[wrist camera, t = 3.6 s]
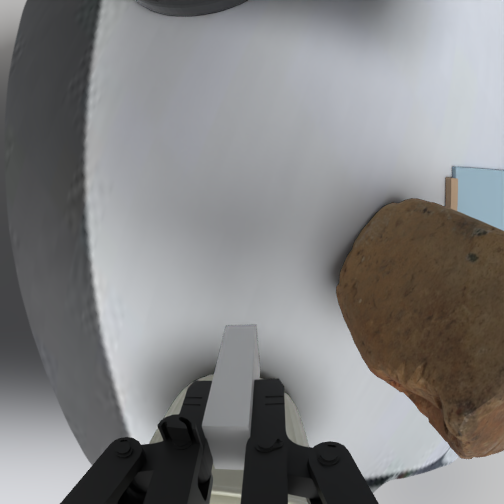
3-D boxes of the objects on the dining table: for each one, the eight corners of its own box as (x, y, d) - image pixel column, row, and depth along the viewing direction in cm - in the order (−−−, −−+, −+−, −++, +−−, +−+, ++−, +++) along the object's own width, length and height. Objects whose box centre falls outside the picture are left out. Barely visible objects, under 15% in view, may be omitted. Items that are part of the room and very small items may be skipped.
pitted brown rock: (397, 182, 24) (594, 252, 5) (445, 238, 25) (604, 347, 6) (315, 274, 27) (381, 478, 8) (369, 320, 28) (455, 498, 9)
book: (445, 166, 23) (451, 167, 23) (539, 174, 22) (545, 175, 21) (431, 324, 28) (435, 329, 27) (522, 305, 27) (527, 308, 26)
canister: (250, 466, 36) (239, 597, 16) (135, 404, 33) (71, 544, 13) (350, 397, 31) (391, 566, 11) (218, 310, 29) (153, 529, 9)
